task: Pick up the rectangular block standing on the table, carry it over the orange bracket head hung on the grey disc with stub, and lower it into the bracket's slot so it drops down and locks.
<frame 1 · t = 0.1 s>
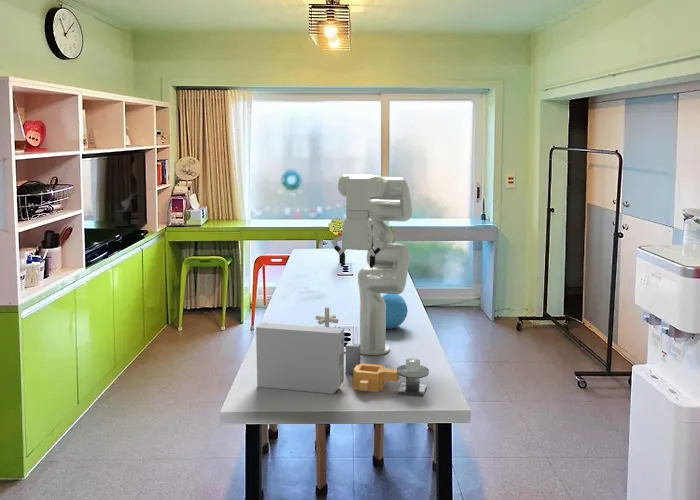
hand: (357, 266, 228), 37 cm above the table, tool pointing down, fingers open, 9 cm apart
blue ball: (386, 327, 286), on the table
grey disc with stub: (412, 390, 219), on the table
bracket head: (369, 386, 223), on the table
pipe connector: (327, 331, 280), on the table
rectangular block: (352, 373, 234), on the table
game console: (300, 388, 221), on the table
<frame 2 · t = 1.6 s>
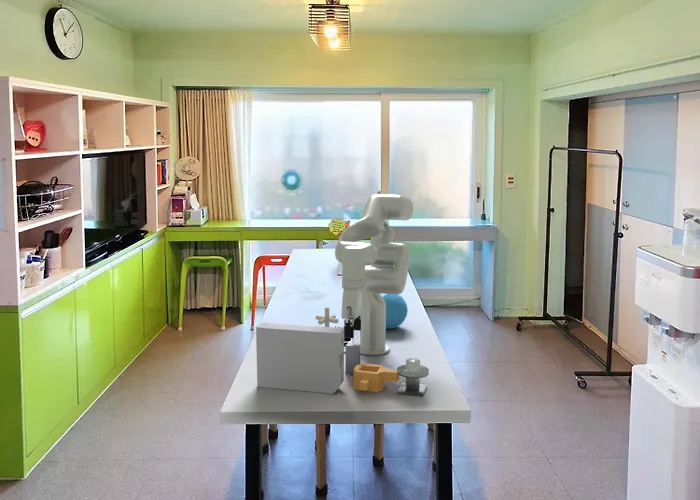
hand: (352, 333, 231), 14 cm above the table, tool pointing down, fingers open, 9 cm apart
nothing on the table moved.
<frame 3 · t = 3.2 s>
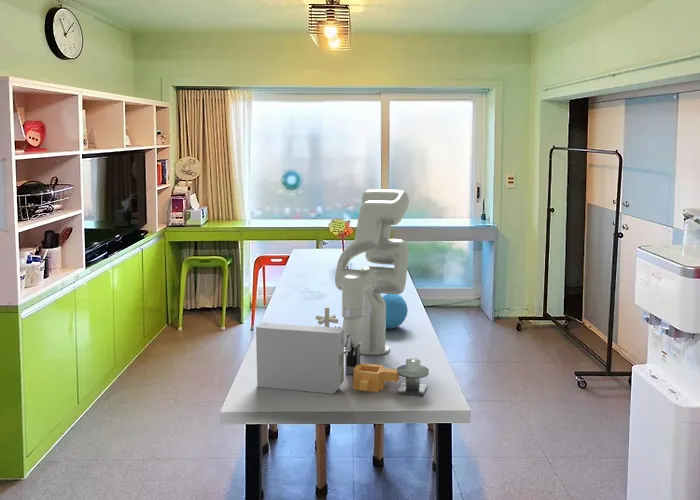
hand: (352, 364, 233), 3 cm above the table, tool pointing down, fingers closed on rectangular block, 3 cm apart
rectangular block: (352, 373, 234), on the table, touching gripper
everything else where it was.
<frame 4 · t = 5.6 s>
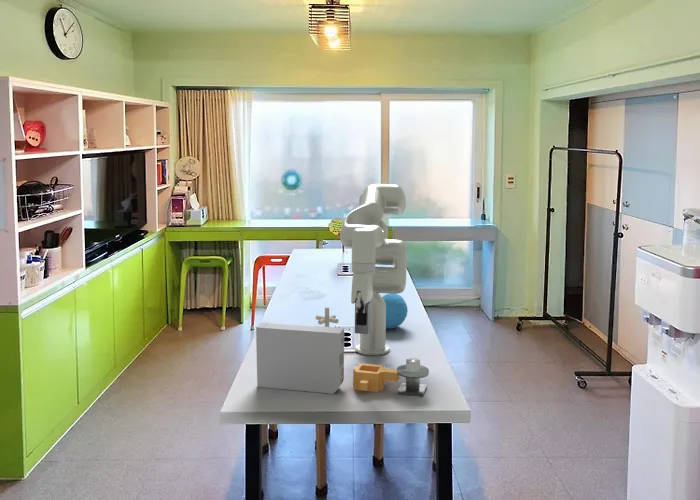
hand: (362, 323, 223), 20 cm above the table, tool pointing down, fingers closed on rectangular block, 3 cm apart
rectangular block: (362, 332, 223), point 17 cm above the table, touching gripper
everything else where it was.
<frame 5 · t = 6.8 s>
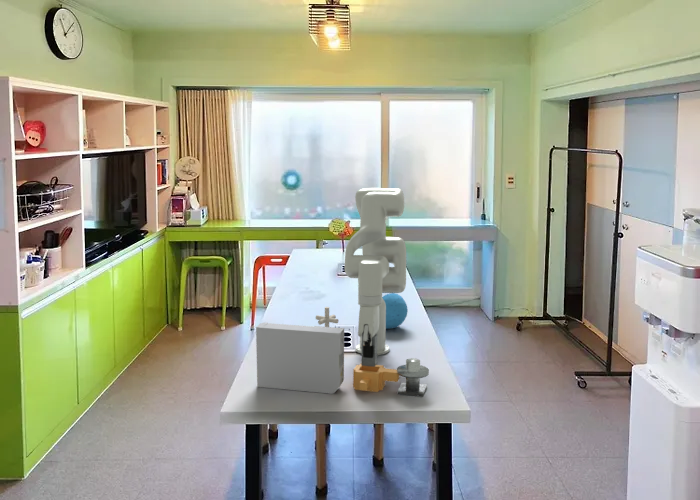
hand: (369, 355, 221), 11 cm above the table, tool pointing down, fingers closed on rectangular block, 3 cm apart
rectangular block: (369, 364, 221), point 7 cm above the table, touching gripper
everything else where it was.
when the fingers open (7 cm above the table, at t = 7.8 s): rectangular block drops 4 cm, resting in bracket head.
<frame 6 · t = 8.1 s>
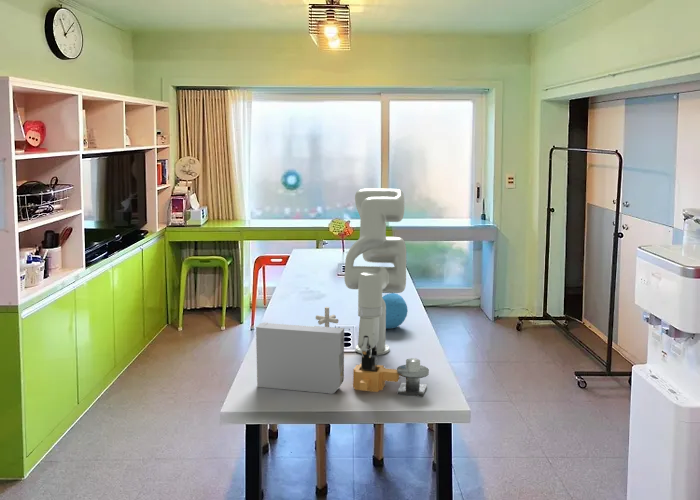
hand: (369, 365, 221), 7 cm above the table, tool pointing down, fingers open, 5 cm apart
rectangular block: (368, 386, 222), resting in bracket head
everything else where it was.
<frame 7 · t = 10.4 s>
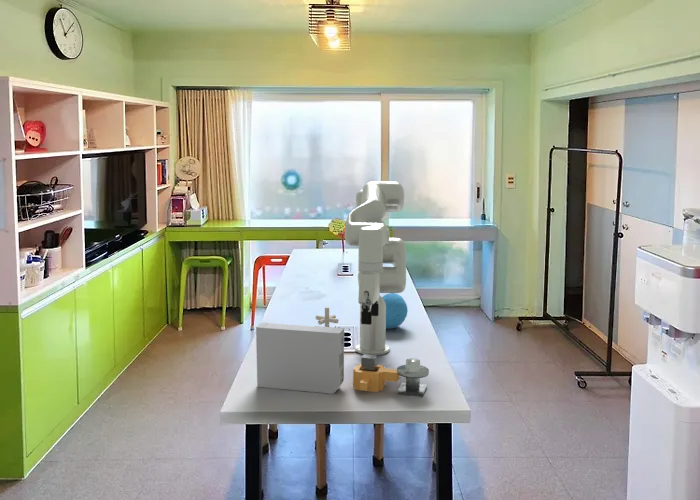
hand: (369, 319, 219), 22 cm above the table, tool pointing down, fingers open, 9 cm apart
nothing on the table moved.
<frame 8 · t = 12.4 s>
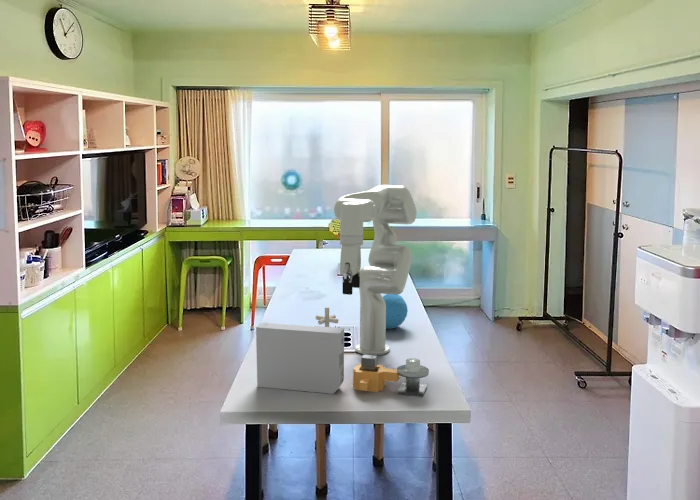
hand: (351, 290, 230), 28 cm above the table, tool pointing down, fingers open, 9 cm apart
nothing on the table moved.
at the end: rectangular block 0.1 cm off-centre on the bracket head, point 0.0 cm above the bracket head's base; rectangular block tilted 0°; the gripper is holding nothing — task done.
